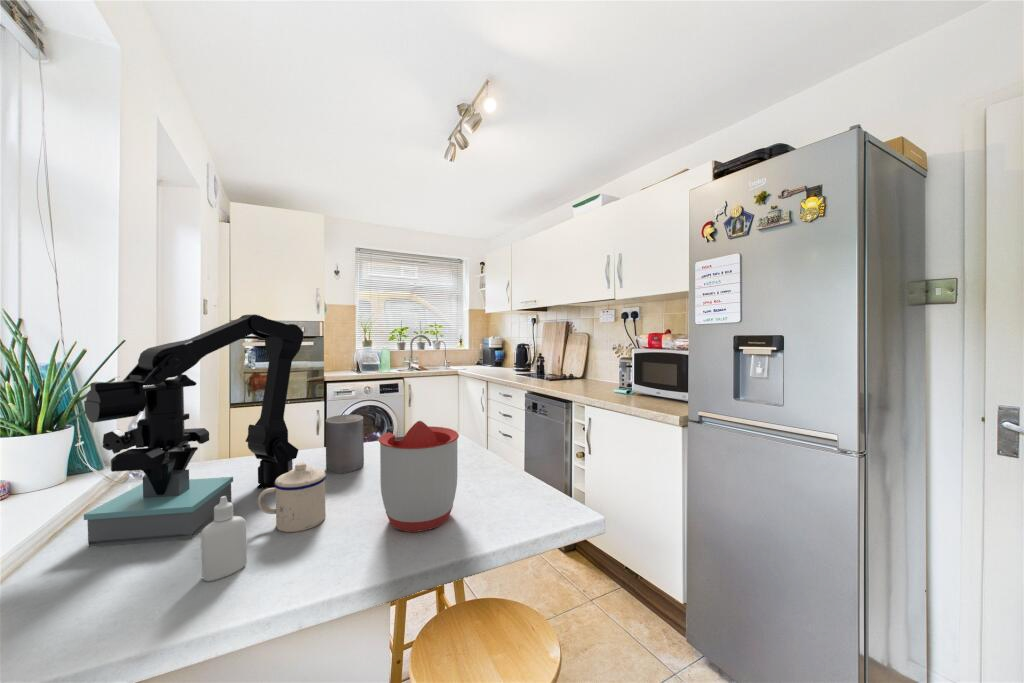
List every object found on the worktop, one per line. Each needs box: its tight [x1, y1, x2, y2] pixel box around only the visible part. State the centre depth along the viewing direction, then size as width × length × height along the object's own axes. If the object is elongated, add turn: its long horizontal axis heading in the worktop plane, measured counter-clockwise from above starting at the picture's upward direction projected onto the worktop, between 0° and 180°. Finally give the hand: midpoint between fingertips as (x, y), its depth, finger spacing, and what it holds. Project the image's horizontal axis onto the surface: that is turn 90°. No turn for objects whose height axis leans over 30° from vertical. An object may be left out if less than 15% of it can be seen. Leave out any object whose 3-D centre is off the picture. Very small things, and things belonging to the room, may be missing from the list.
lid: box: [83, 469, 234, 521], centre depth 77 cm, size 17×15×6 cm
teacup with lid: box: [257, 462, 327, 533], centre depth 78 cm, size 12×9×12 cm
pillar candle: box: [325, 413, 365, 474], centre depth 108 cm, size 10×10×15 cm
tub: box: [87, 483, 232, 548], centre depth 77 cm, size 16×14×5 cm
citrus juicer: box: [378, 420, 460, 533], centre depth 80 cm, size 16×17×20 cm
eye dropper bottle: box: [200, 496, 248, 582], centre depth 62 cm, size 4×6×12 cm
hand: (166, 490), depth 77 cm, fingers closed on lid, 3 cm apart
